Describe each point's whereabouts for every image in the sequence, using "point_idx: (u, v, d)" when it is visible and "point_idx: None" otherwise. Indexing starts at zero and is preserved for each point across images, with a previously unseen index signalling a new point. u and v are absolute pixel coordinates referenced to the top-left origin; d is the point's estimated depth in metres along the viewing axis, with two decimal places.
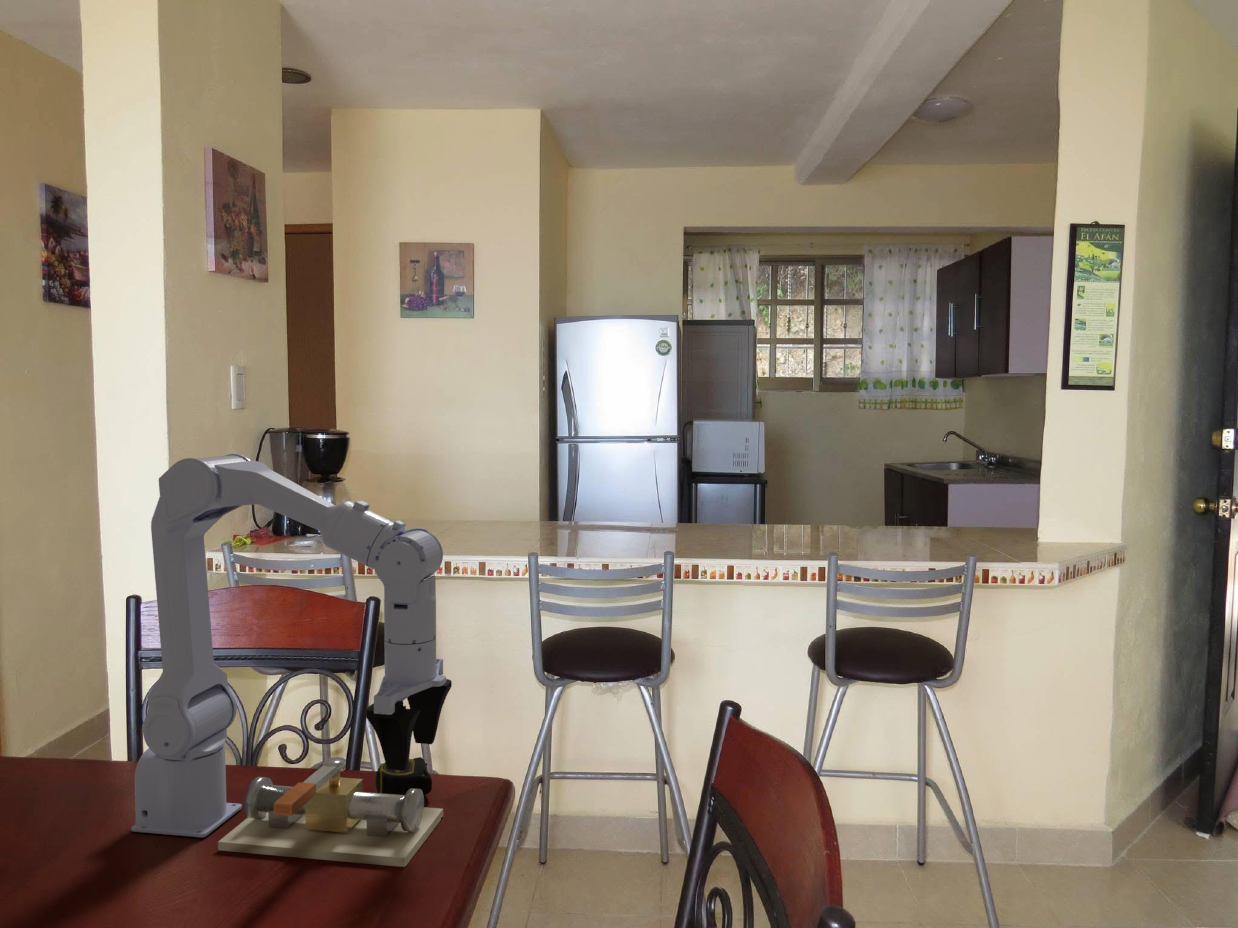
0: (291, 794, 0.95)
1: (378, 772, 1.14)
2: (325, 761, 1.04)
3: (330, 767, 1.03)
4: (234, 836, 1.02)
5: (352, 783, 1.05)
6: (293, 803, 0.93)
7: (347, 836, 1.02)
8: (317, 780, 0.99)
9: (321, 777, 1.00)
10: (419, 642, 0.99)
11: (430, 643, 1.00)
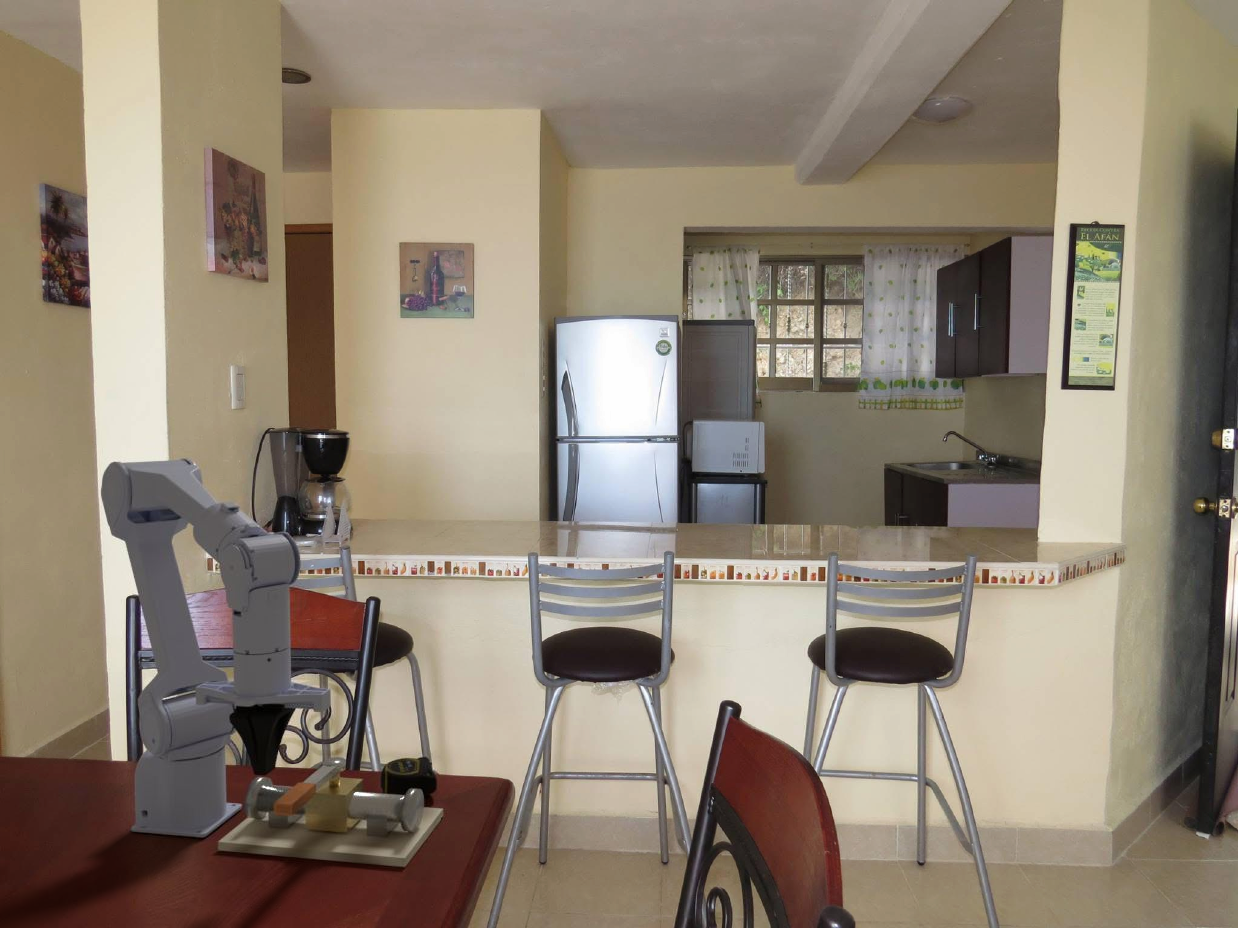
0: (291, 794, 0.95)
1: (383, 771, 1.14)
2: (325, 761, 1.04)
3: (330, 767, 1.03)
4: (234, 836, 1.02)
5: (352, 783, 1.05)
6: (293, 803, 0.93)
7: (347, 836, 1.02)
8: (317, 780, 0.99)
9: (321, 777, 1.00)
10: (233, 650, 0.94)
11: (240, 656, 0.94)
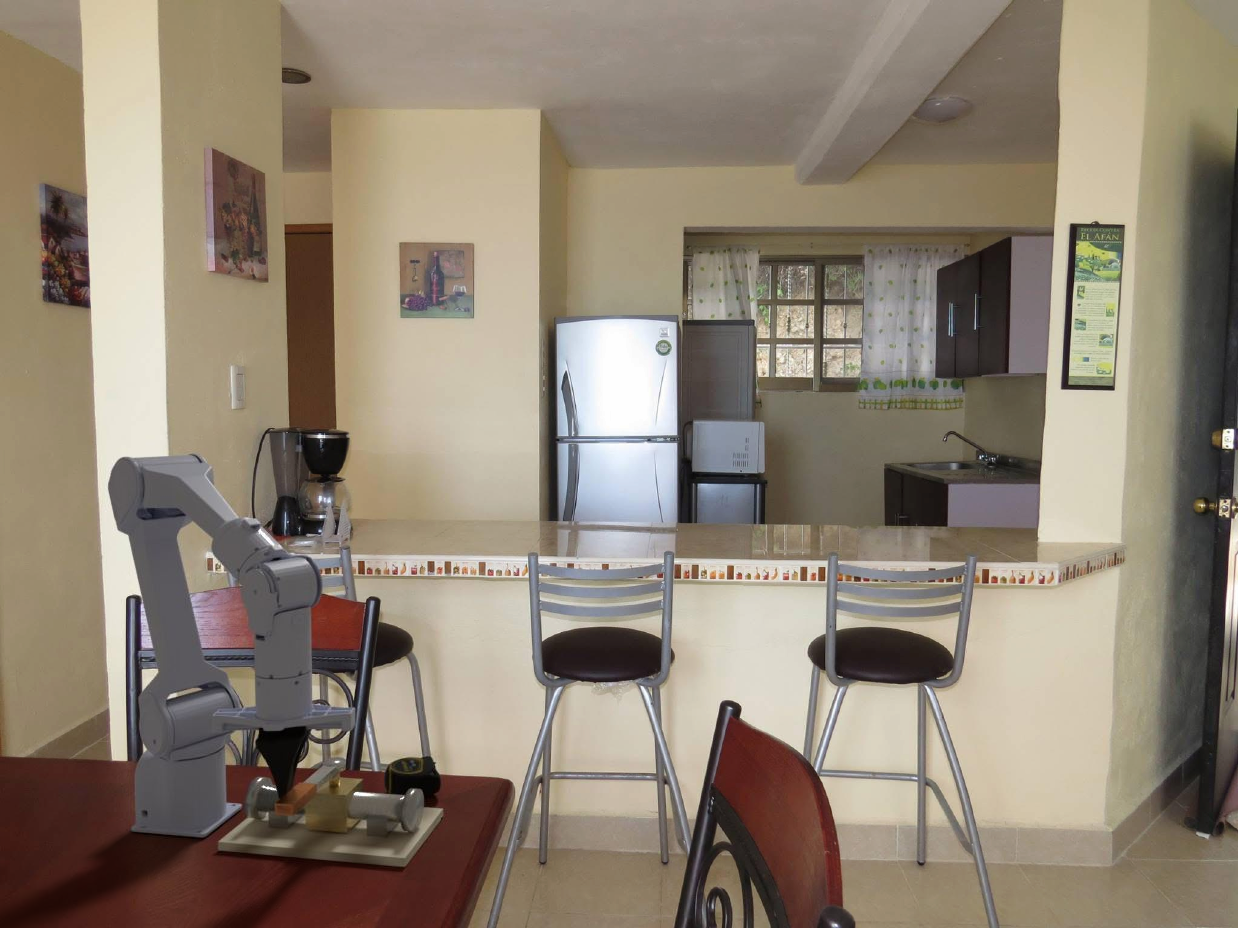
0: (293, 794, 0.95)
1: (387, 771, 1.15)
2: (325, 761, 1.04)
3: (331, 767, 1.03)
4: (234, 836, 1.02)
5: (352, 783, 1.05)
6: (294, 803, 0.93)
7: (347, 836, 1.02)
8: (318, 780, 0.99)
9: (322, 777, 1.00)
10: (257, 675, 0.94)
11: (267, 681, 0.93)
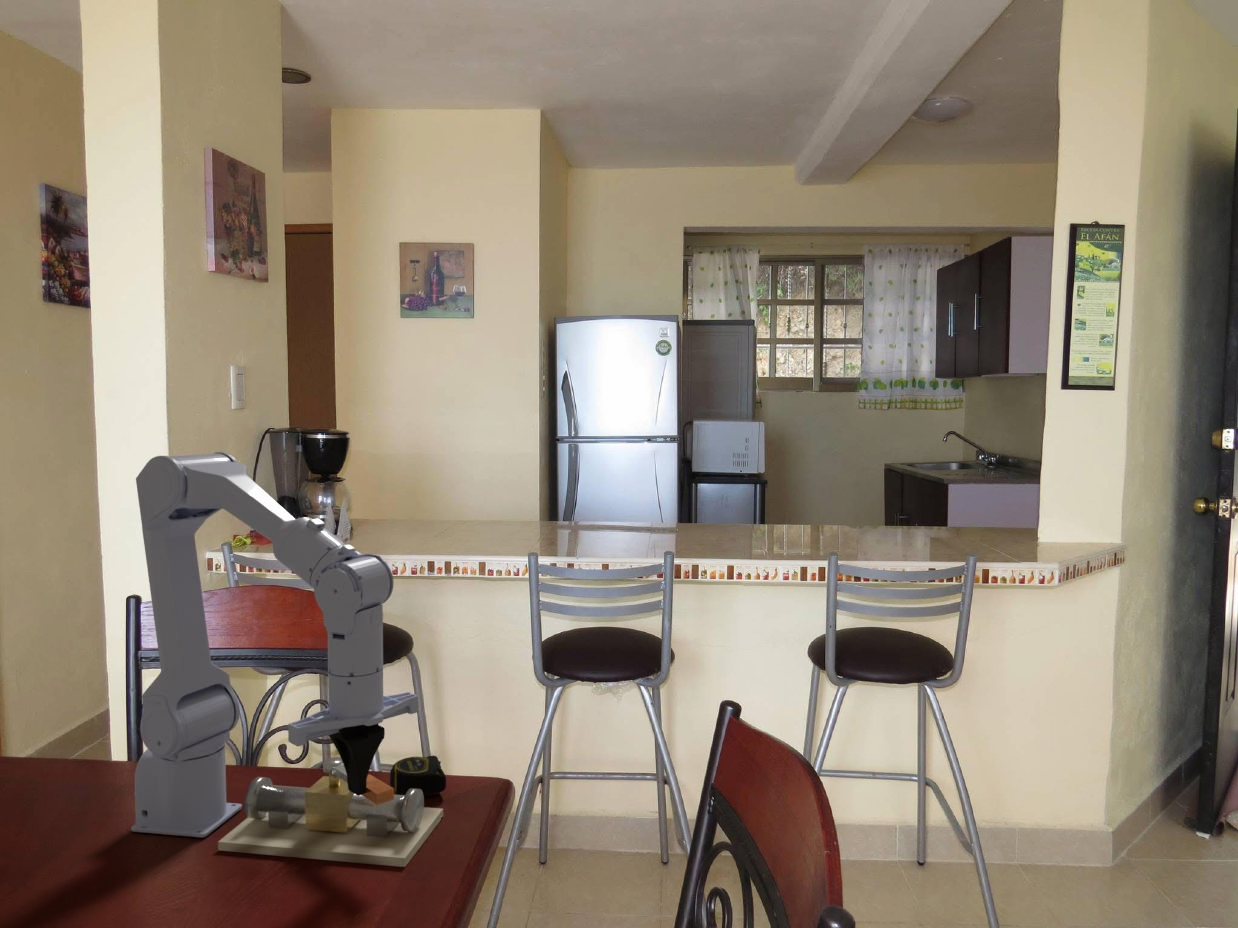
0: (374, 785, 0.98)
1: (392, 770, 1.15)
2: (327, 764, 1.04)
3: (343, 764, 1.04)
4: (234, 836, 1.02)
5: None
6: (391, 787, 0.97)
7: (347, 836, 1.02)
8: None
9: None
10: (347, 675, 0.94)
11: (362, 678, 0.95)
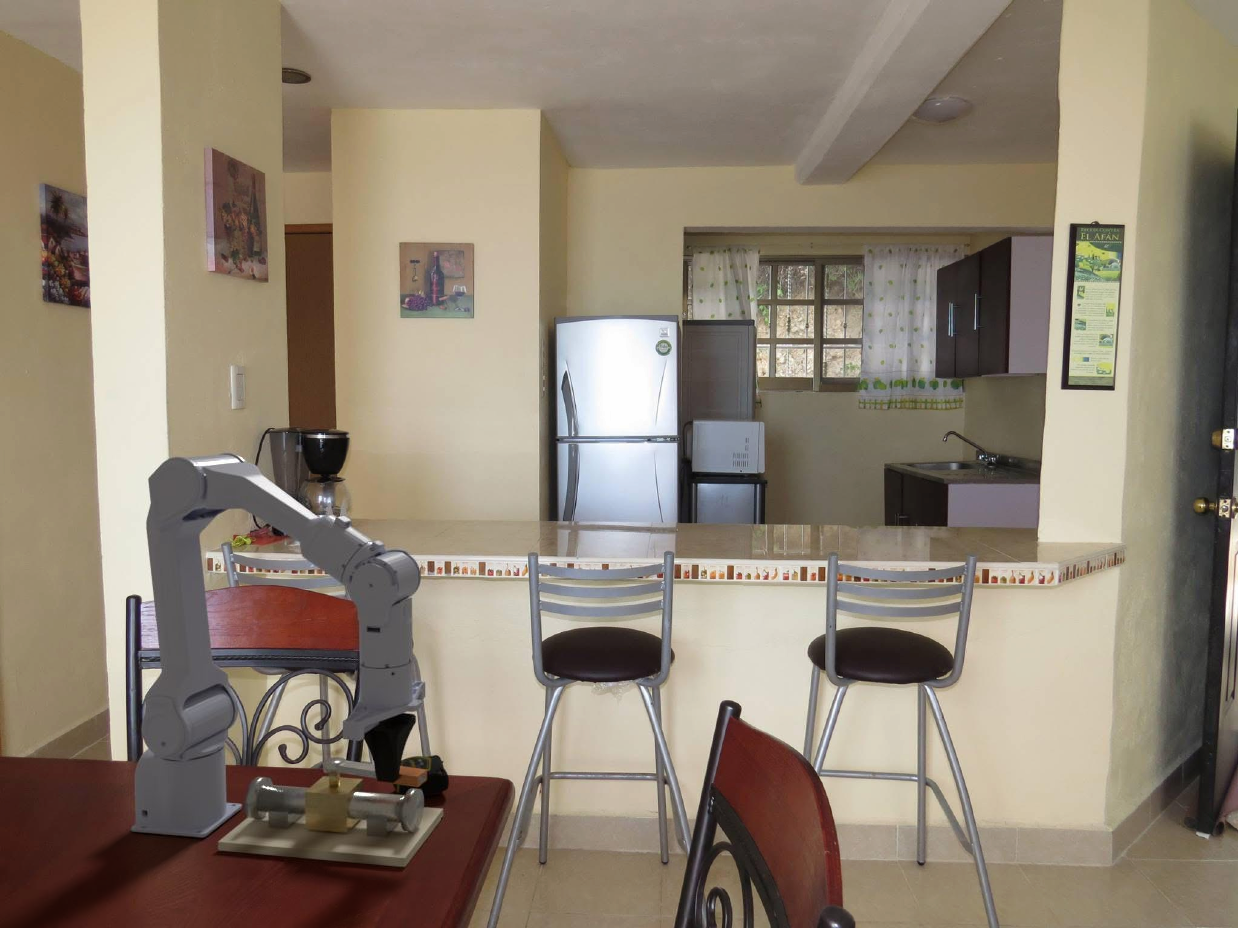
0: (404, 770, 1.01)
1: None
2: (331, 764, 1.03)
3: (347, 762, 1.04)
4: (234, 836, 1.02)
5: (352, 783, 1.05)
6: (423, 769, 1.02)
7: (347, 836, 1.02)
8: None
9: (369, 764, 1.04)
10: (392, 666, 0.97)
11: (405, 667, 0.98)
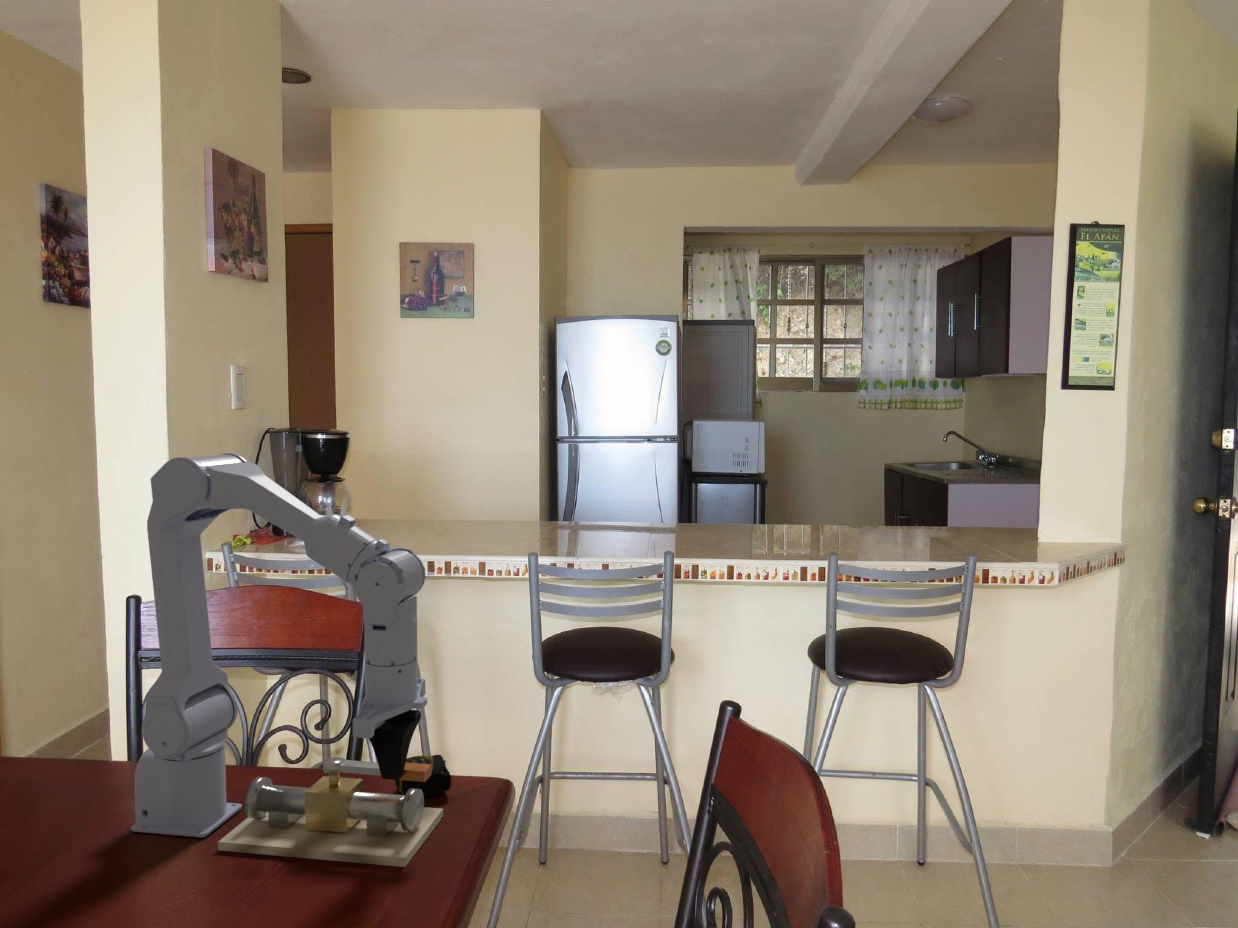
0: (409, 766, 1.03)
1: None
2: (332, 764, 1.03)
3: (348, 761, 1.05)
4: (234, 836, 1.02)
5: (352, 783, 1.05)
6: (427, 764, 1.03)
7: (347, 836, 1.02)
8: (377, 763, 1.04)
9: (371, 762, 1.04)
10: (399, 664, 0.98)
11: (411, 665, 0.99)
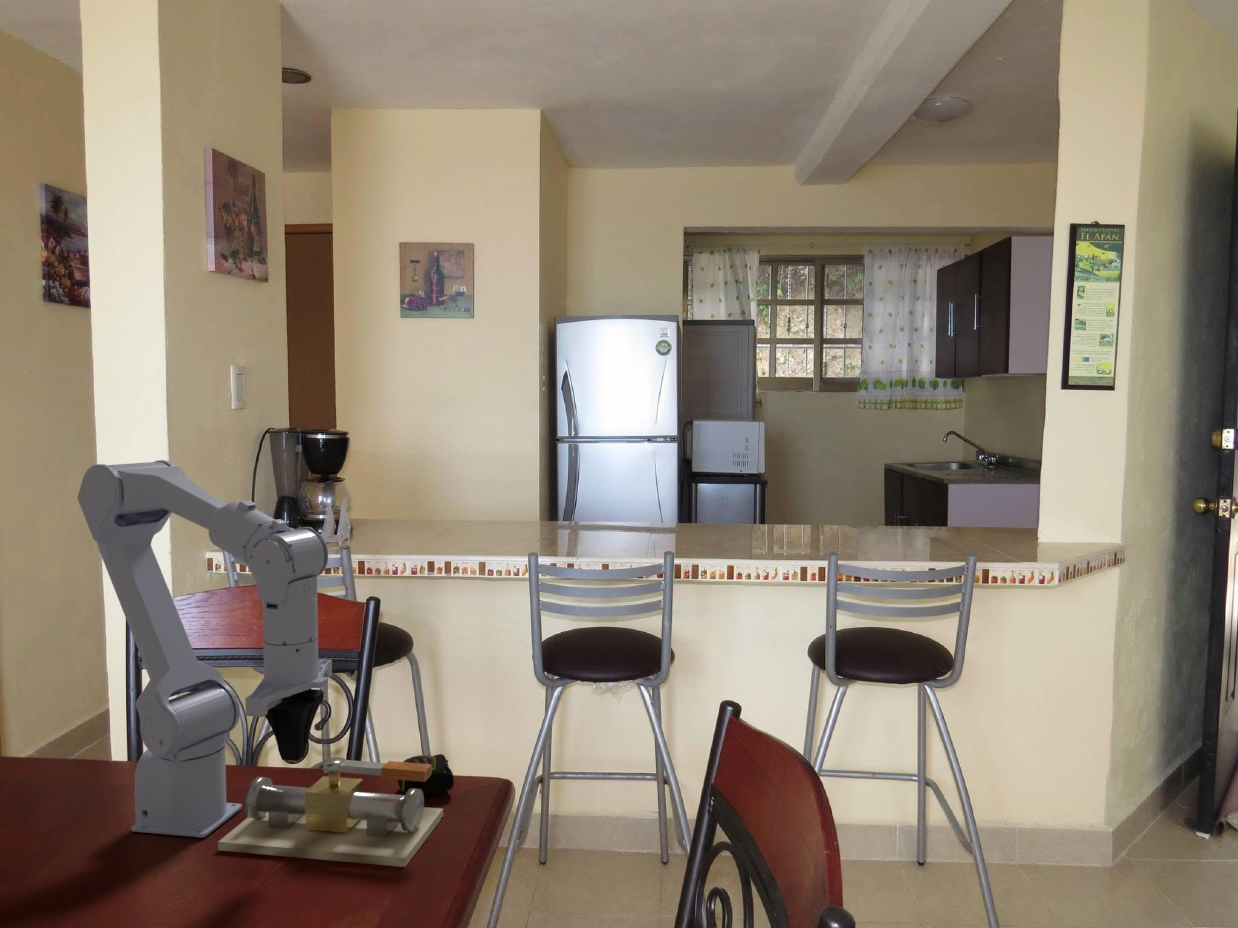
0: (409, 766, 1.03)
1: None
2: (332, 764, 1.03)
3: (348, 761, 1.05)
4: (234, 836, 1.02)
5: (352, 783, 1.05)
6: (427, 764, 1.03)
7: (347, 836, 1.02)
8: (377, 763, 1.04)
9: (371, 762, 1.04)
10: (297, 643, 0.97)
11: (309, 644, 0.99)
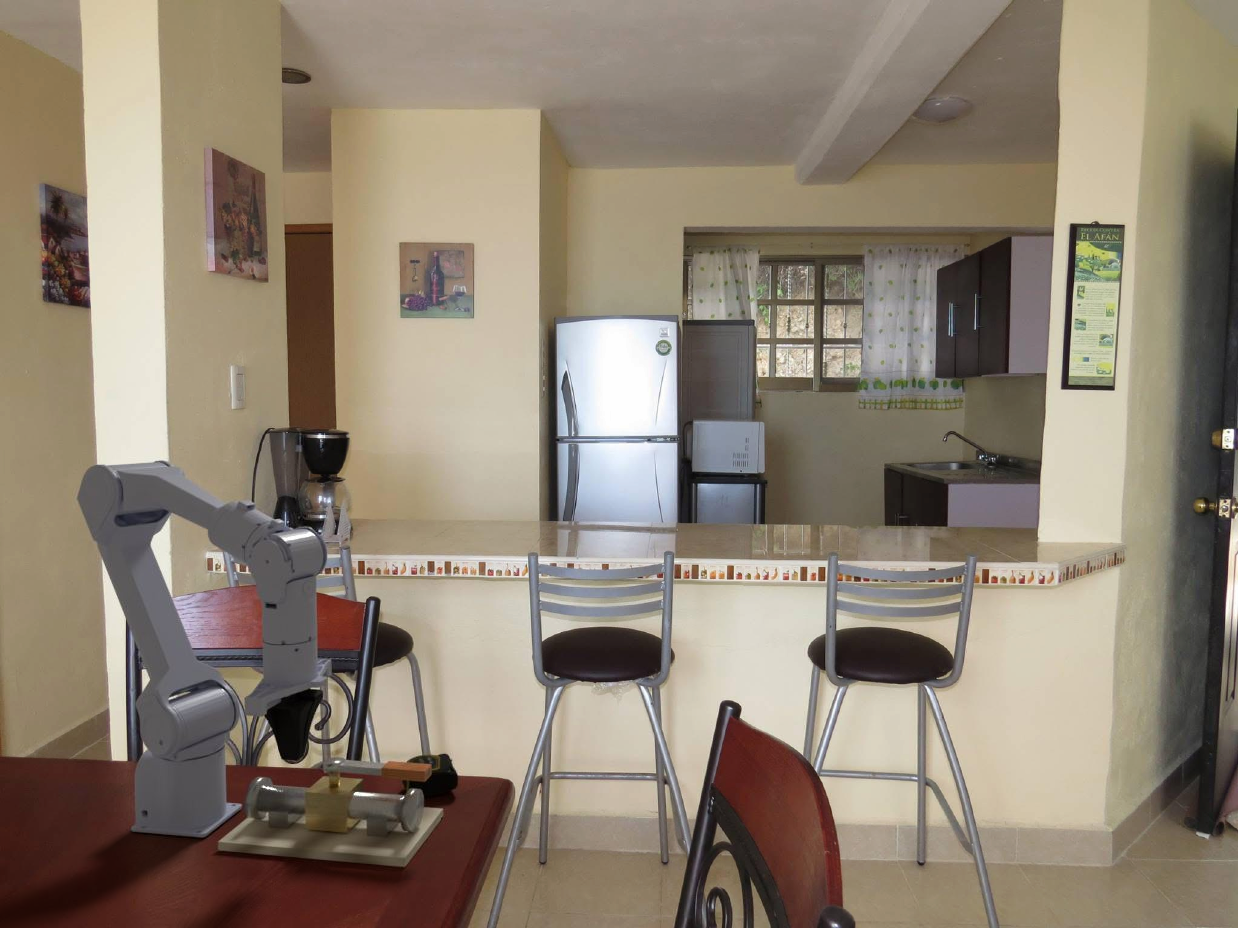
0: (409, 766, 1.03)
1: None
2: (332, 764, 1.03)
3: (348, 761, 1.05)
4: (234, 836, 1.02)
5: (352, 783, 1.05)
6: (427, 764, 1.03)
7: (347, 836, 1.02)
8: (377, 763, 1.04)
9: (371, 762, 1.04)
10: (296, 642, 0.97)
11: (309, 643, 0.99)
